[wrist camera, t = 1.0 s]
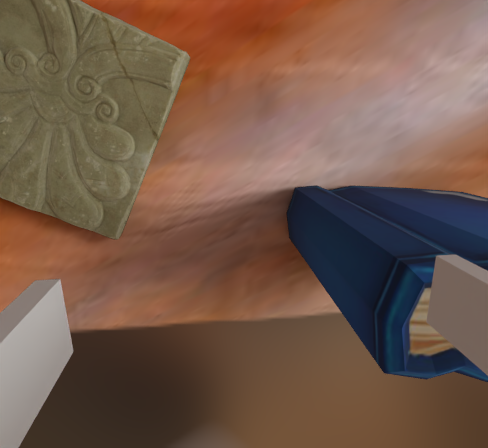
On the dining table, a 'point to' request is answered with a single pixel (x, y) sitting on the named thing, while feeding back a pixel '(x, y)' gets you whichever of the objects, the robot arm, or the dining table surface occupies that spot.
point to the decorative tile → (80, 110)
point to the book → (390, 265)
